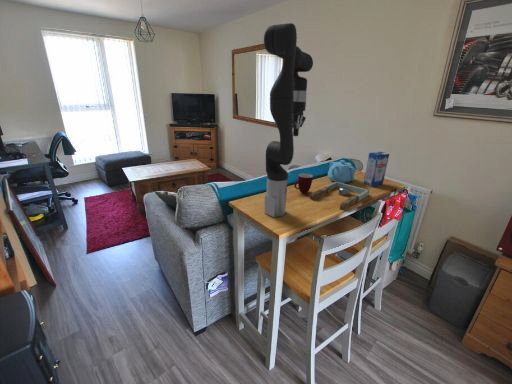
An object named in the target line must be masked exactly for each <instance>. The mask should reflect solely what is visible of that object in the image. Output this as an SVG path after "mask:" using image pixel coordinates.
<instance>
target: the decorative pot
mask: <svg viewBox="0 0 512 384" xmlns="http://www.w3.org/2000/svg"><path fill="white" fill-rule="evenodd" d="M328 167H329V170H328V171H327V178H328V179H329V180H330V181H331V182H340V183H344V184H347V183H349V182H351V181H354V180H355V173H356V168H355V167H354V166H353V165H352V163H351V162H346V160H343V159H341V160H339V161H330V163H329V166H328Z"/></svg>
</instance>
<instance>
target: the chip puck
mask: <svg viewBox="0 0 512 384" xmlns="http://www.w3.org/2000/svg"><path fill="white" fill-rule="evenodd" d="M338 189H339V190H338V195H339V196H343V197H349V196H350V194H351V191H350V190H351V189H350V188H348V187H340V188H338Z"/></svg>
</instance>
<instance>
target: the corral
mask: <svg viewBox="0 0 512 384" xmlns="http://www.w3.org/2000/svg"><path fill="white" fill-rule="evenodd" d="M325 187H328V188H329V191H331V190H333V189H335V188H338V189H339V188H340V187H348V188H350V189H351V190H350V192H353V193H356V194H358V195H357V196H358V200H357V202H361V201H362V200H364V199H366V197H368V196H369V194H370V190H369V189H366V188H363V187H359V186H354V185H350V184H347V183H340V182H335V181H333V182H331V183H329V184H327V185H325V186H324V188H325Z"/></svg>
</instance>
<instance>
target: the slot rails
mask: <svg viewBox="0 0 512 384" xmlns="http://www.w3.org/2000/svg"><path fill="white" fill-rule="evenodd" d="M329 191H330V190H329V188H328V187H325V186H324V187H323V188H321V189H318V190H316V191H314V192H312V193H310V197H309V200H312V201H315V200H317V199H319V198H320V197H323V196H325V195H327V194H328V193H329ZM357 200H358V195H356V194H354V195H353V196H350V197H349V198H348V199H346V200H344V201H342V202H340V205H339V210H342V211H344V210H346V209H348V208H350V207H351V206H352V205H354V204H356V203H357V202H358V201H357Z"/></svg>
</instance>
